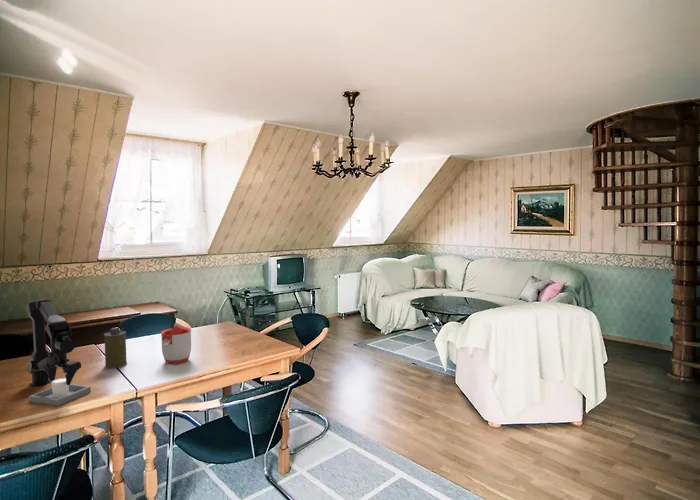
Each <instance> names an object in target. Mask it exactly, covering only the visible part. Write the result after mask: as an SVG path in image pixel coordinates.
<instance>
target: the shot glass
mask: <svg viewBox="0 0 700 500" xmlns="http://www.w3.org/2000/svg"><path fill="white" fill-rule="evenodd" d="M50 385H51V387H52V392H53V398H62V397H65V396H67V395H69V385H67V383H66V377H60V378H55V380H53V381H51V382H50Z"/></svg>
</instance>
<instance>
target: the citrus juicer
mask: <svg viewBox="0 0 700 500" xmlns="http://www.w3.org/2000/svg"><path fill="white" fill-rule="evenodd" d="M191 332H192V329H191V328H190V327H183V326H182V327H181V326H179V325H174V326H173V327H172V328H166V329H164V330H161V331H160V334H161V336H160V337H161V352H162V356H163V359H164V361H165V363H166V364H170V365H171V364H172V365H174V364H176V365H180V364H183V363H185V362H187V361H189V360H190V359H189V358H190V356H191V352H192V333H191Z"/></svg>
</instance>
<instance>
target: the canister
mask: <svg viewBox="0 0 700 500" xmlns="http://www.w3.org/2000/svg"><path fill="white" fill-rule="evenodd" d="M126 333H127V332H126V330H125V331H124V330H122V329H120V327H112V328H110V329H109V331H108V332H105V333H103V336H104V358H105V359H104V361H105V362H104V363H105V365H104V367H105V368H107V369H116V368H117V369H118V368H122V367H124V366H126V365H128V362H127V339H126V335H127V334H126Z"/></svg>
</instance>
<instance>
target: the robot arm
mask: <svg viewBox="0 0 700 500" xmlns="http://www.w3.org/2000/svg"><path fill="white" fill-rule="evenodd" d="M25 312H26V313H27V316H28V318H30V319H31V324H32V336H33V337H32V339H33V352H32V353H31V355H30V356H29V358H30V359H29V362H28V365H27V367H26V369H27V373H29V374H30V375H31V377H32V378H31V381H32V382H30V383H29V384H28V385H29V386H36V387H41V386H43V385H47V384H49V383H51V381H53V380H56V375H57V369H58V368H62V373H63V374H64V375H65V378H66V383H67V385H70V384H72V381H73V378H74V376H75V375H76V373H77V371H78V370H80V369H81V368H82V363H81V362H80V361H75V360H72V361H70V358H68V354H70V353H72V352H73V351H74V349H75V348H76V344H75V341H73V340H72V339H70V337H72V336H73V334H72V333H73V330H72V328H71V325H70V323H69V322H68V321H67V320H66V319H65V318H64V317H63V316H60V315H58V313H57V311H56V310H55V309H54V307H53V305H52V302H51V299H50V298H41V299H38V300H35V301H28V303H27V304H25ZM45 322H46V326H45ZM46 333H47V334H48V337H49V339H50V340H49V341H50V351H48V350H47V347H46V346H47V343H46Z"/></svg>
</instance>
